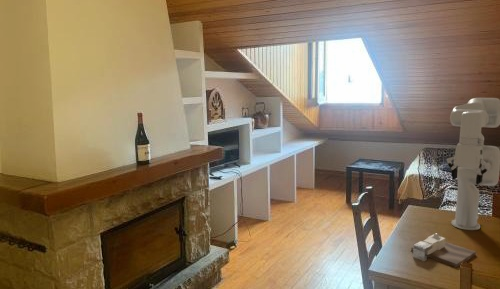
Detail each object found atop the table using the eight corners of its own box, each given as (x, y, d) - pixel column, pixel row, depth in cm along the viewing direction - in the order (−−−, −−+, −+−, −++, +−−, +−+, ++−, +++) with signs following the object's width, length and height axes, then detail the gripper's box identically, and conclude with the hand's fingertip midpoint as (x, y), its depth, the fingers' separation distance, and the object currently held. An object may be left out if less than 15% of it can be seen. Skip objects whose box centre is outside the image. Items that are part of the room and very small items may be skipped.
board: (431, 240, 175) (431, 237, 175) (475, 254, 160) (475, 251, 160) (411, 250, 165) (411, 247, 165) (456, 267, 150) (456, 264, 150)
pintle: (434, 245, 167) (435, 232, 166) (439, 246, 165) (440, 233, 164) (432, 246, 166) (433, 233, 165) (436, 247, 164) (437, 234, 163)
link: (432, 242, 169) (433, 234, 168) (444, 246, 165) (445, 238, 164) (417, 251, 161) (417, 242, 161) (429, 255, 157) (429, 246, 157)
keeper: (420, 252, 163) (421, 240, 162) (431, 257, 159) (432, 244, 158) (412, 257, 159) (413, 244, 158) (424, 261, 156) (425, 248, 155)
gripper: (496, 142, 154) (492, 183, 157) (452, 137, 168) (449, 175, 171) (488, 145, 150) (484, 187, 153) (444, 139, 163) (441, 178, 166)
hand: (466, 181), depth 162 cm, fingers open, 9 cm apart
